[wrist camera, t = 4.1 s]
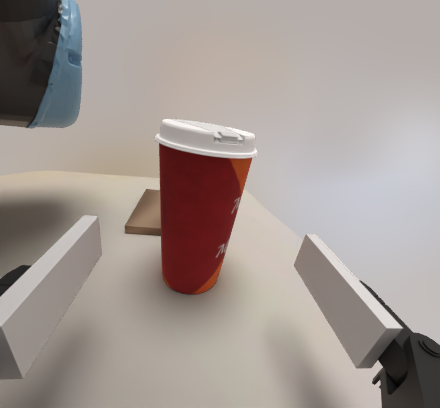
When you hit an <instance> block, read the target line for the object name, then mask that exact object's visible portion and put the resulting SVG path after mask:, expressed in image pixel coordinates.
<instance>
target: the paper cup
mask: <svg viewBox="0 0 440 408" xmlns="http://www.w3.org/2000/svg"><path fill="white" fill-rule="evenodd" d="M155 141H157V142H158V143H159V156H160V212H161V255H162V273H163V278H164V281H165V282H166V284H167V285H168V286H169V287H170V288H172V289H173V290H175V291H177V292H180V293H183V294H199V293H203V292H205V291H207V290H209V289H210V288H211V287H212V286H213V285H214V284H215V283H216V281H217V278H218V275H219V272H220V269H221V266H222V263H223V259H224V256H225V252H226V249H227V246H228V242H229V239H230V235H231V232H232V228H233V225H234V221H235V217H236V214H237V210H238V207H239V203H240V200H241V196H242V193H243V189H244V186H245V182H246V178H247V175H248V171H249V168H250V164H251V161H252V158H253V157H256V156H257V155H258V153H257V150H256V149H255V135H254V134H252V133H249V132H246V131H242V130H238V129H234V128H229V127H227V128H226V127H225V126H219V125H213V124H208V123H202V122H195V121H187V120H177V119H164V120H163V121H162V124H161V128H160V133H159V134H157V135H156V137H155Z"/></svg>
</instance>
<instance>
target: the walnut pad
mask: <svg viewBox="0 0 440 408" xmlns="http://www.w3.org/2000/svg"><path fill="white" fill-rule="evenodd" d="M125 233H134V234H148V235H161V212H160V191H159V190H150V189H146V190H145V192H144V194H143V196H142V197H141V199H140V201H139V202H138V204H137V206H136V208H135V209H134V211H133V213H132V214H131V216H130V218H129V220H128V221H127V223H126V225H125Z"/></svg>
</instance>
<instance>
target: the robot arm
mask: <svg viewBox="0 0 440 408" xmlns="http://www.w3.org/2000/svg"><path fill="white" fill-rule="evenodd" d="M81 52H82V30H81V18H80V12H79V7H78V5H77V3H76V2H75V0H0V125H6V126H18V127H26V128H35V127H56V128H64V127H68V126H70V125H72V124H73V123H74V122H75V121H76V119H77V117H78V114H79V109H80V100H81V84H82V66H81V60H82V56H81ZM101 255H102V250H101V239H100V229H99V218H98V216H88V215H84V216H83V217H82V218H80V219H79V220H78V221H77V222H76V223H75V224H74V225H73V226H72V227H71V228H70V229H69V230H68V231H67V232H66V233H65V234H64V235H63V236H62V237H61V238H60V239H59V240H58V241H57V242H56V243H55V244H54V245H53V246H52V247H51V248H50V249H49V250H48V251H47V252H46V253H45V254H44V255H43V256H42V257H41V258H40V259H39V260H38V261H37V262H35V263H34V264H33V265H32V266H27V265H21V266H20V267H18V268H16V269H14V270H12V271H11V272H9V273H7V274H6V275H5V276H3V277H2V278H1V279H0V379H23V378H24V377H25V375H26V374H27V372H28V370H29V369H30V367H31V366H32V364H33V363H34V361H35V359H36V358H37V356H38V355H39V353H40V351H41V350H42V348H43V347H44V345H45V344H46V342H47V340H48V339H49V337H50V336H51V334H52V332H53V331H54V329H55V328H56V326H57V325H58V323H59V321H60V320H61V318H62V317H63V315H64V314H65V312H66V310H67V309H68V307H69V306H70V304H71V302H72V301H73V299H74V298H75V296H76V295H77V293H78V291H79V290H80V288H81V287H82V285H83V284H84V282H85V280H86V279H87V277H88V276H89V274H90V272H91V271H92V269H93V268H94V266H95V265H96V263H97V261H98V260H99V258H100V257H101ZM294 267H295V268H296V270H297V272H298V273H299V275H300V277H301V278H302V280H303V281H304V283H305V285H306V286H307V288H308V290H309V291H310V293H311V295H312V296H313V298H314V300H315V301H316V303H317V304H318V306H319V308H320V309H321V311H322V313H323V314H324V316H325V318H326V319H327V321H328V323H329V324H330V326H331V327H332V329H333V331H334V332H335V334H336V336H337V337H338V339H339V341H340V342H341V344H342V346H343V347H344V349H345V350H346V352H347V354H348V355H349V357H350V359H351V360H352V362H353V364H354V365H355V367H356V368H372V367H373V365H374V364H375V363H376V362H377V360H379V362H380V363H381V365H382V366H383V368H382V369H381V370H380V371H379V372H378V374H377V375H376V376H375V377H374V378H373V381H372V383H373V384H374V385H375V384H376V383H377V382H378V381H379V380H380V381H381V385H380V386H379V388H380V389H381V398H382V408H440V345H439V344H437V343H436V342H435V341H433V340H432V339H430V338H429V337H427V336H424V335H422V334H420V333H413V332H412V331H411V330H410V329H409V328H408V327H407V326H406V325H405V324H404V322H403V321H402V320H401V319H399V317H398V316H397V315H396V314H395V313H394V312H393V311H392V310H391V309H390V308H389V307H388V306H387V305H385V303H384V302H383V300H382V299H381V298H379V297H378V295H377V294H376V293H375V292H374V291H373V290H372V289H371V288H370V287H368V286H367V285H366V284H364V283H363V282H362V281H360V280H358V279H357V278H356V277H355V276H354V275H353V274H352V273H351V272H350V271H349V270H348V269H347V267H346V266H345V265H344V264H343V263H342V262H341V261H340V260H339V259H338V258H337V257H336V255H335V254H333V252H332V251H331V250H330V249H329V248H328V247H327V246H326V245H325V244H324V243H323V241H322V240H320V238H319V237H318V236H317V235H313V234H306V235H305V238H304V240H303V243H302V245H301V248H300V251H299V253H298V256H297V258H296V261H295V263H294Z"/></svg>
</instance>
